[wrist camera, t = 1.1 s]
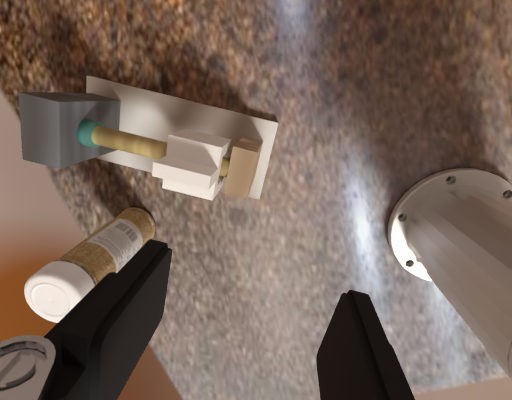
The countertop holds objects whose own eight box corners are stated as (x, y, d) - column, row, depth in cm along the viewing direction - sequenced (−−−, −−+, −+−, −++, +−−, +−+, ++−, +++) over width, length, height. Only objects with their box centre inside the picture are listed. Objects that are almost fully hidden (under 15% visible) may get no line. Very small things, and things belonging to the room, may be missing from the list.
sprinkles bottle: (112, 215, 34) (8, 287, 21) (143, 200, 32) (53, 266, 20) (134, 247, 35) (48, 332, 22) (164, 233, 34) (92, 315, 21)
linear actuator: (278, 122, 28) (275, 133, 20) (259, 196, 31) (250, 234, 23) (91, 76, 28) (9, 67, 20) (90, 154, 31) (17, 175, 23)
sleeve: (231, 139, 24) (215, 153, 19) (222, 185, 26) (204, 211, 20) (186, 128, 24) (155, 138, 19) (180, 174, 26) (149, 197, 20)
